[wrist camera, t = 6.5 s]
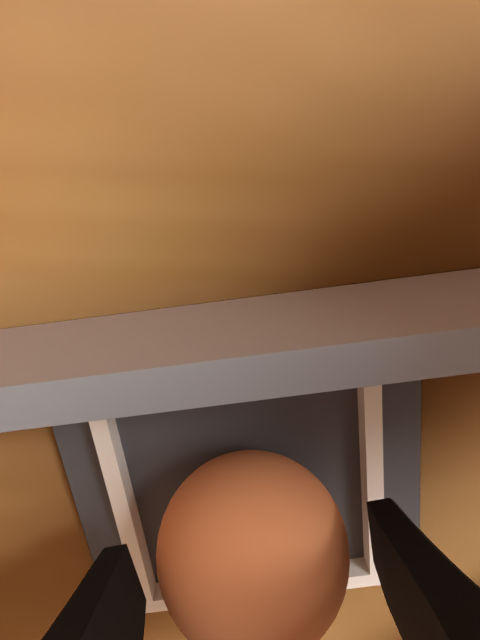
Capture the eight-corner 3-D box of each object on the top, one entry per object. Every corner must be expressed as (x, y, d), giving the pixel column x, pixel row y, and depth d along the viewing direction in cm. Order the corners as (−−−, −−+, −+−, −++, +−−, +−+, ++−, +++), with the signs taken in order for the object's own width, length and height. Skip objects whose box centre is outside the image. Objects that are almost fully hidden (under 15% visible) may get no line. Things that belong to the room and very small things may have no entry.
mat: (416, 326, 13) (433, 340, 12) (414, 560, 16) (427, 588, 15) (42, 373, 13) (27, 391, 12) (109, 597, 16) (101, 627, 15)
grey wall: (506, 264, 12) (629, 307, 9) (503, 298, 13) (620, 354, 9) (-59, 336, 13) (-181, 410, 9) (-47, 368, 13) (-160, 453, 9)
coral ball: (314, 401, 13) (366, 532, 8) (334, 530, 15) (386, 700, 10) (150, 432, 13) (111, 578, 9) (187, 557, 15) (172, 737, 10)
